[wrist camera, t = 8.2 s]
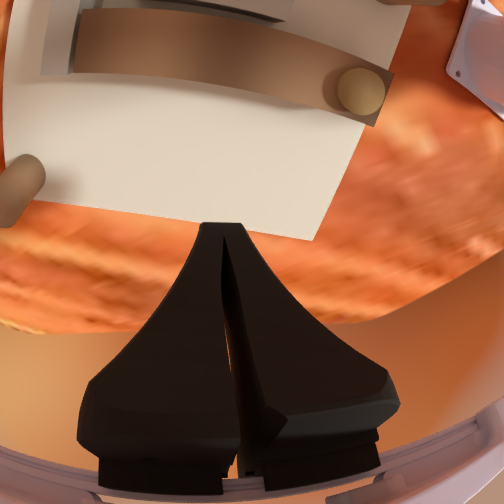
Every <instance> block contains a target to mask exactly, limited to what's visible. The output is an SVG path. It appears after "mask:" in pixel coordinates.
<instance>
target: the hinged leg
mask: <svg viewBox="0 0 504 504" xmlns="http://www.w3.org/2000/svg"><path fill="white" fill-rule="evenodd" d="M73 73H109V74H130V75H144V76H155V77H165V78H174V79H182V80H189V81H196V82H203V83H209V84H215V85H221V86H226V87H232V88H237V89H242V90H247V91H251V92H256V93H261V94H265V95H269V96H273V97H277V98H281V99H285V100H289V101H293V102H297V103H300V104H304V105H307V106H311V107H314V108H318V109H321V110H324V111H328V112H331V113H334V114H337V115H340V116H343V117H346V118H349V119H352V120H355V121H358V122H361V123H363V124H366V125H369V126H372V127H374V125H375V123H376V120H377V118H378V115H379V113H380V110H381V108H382V105H383V102H384V100H385V97H386V95H387V92H388V89H389V87H390V84H391V81H392V79H393V76H394V73H392V72H390V71H388V70H386V69H384V68H382V67H380V66H377V65H375V64H373V63H371V62H369V61H366V60H364V59H362V58H359V57H357V56H354V55H352V54H350V53H347V52H344V51H342V50H339V49H337V48H334V47H331V46H329V45H326V44H323V43H320V42H317V41H314V40H311V39H308V38H305V37H302V36H299V35H295V34H292V33H289V32H285V31H282V30H278V29H274V28H270V27H266V26H262V25H258V24H254V23H250V22H245V21H240V20H235V19H230V18H225V17H219V16H213V15H207V14H200V13H192V12H184V11H174V10H162V9H145V8H93V9H83V10H82V15H81V20H80V26H79V32H78V38H77V45H76V52H75V60H74V69H73Z"/></svg>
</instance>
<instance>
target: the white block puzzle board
mask: <svg viewBox="0 0 504 504" xmlns="http://www.w3.org/2000/svg"><path fill="white" fill-rule="evenodd" d="M446 1H447V0H14V3H13V8H12V13H11V18H10V24H9V30H8V37H7V44H6V53H5V63H4V77H3V141H4V155H5V166H6V169H5V170H4V171H2V172H1V173H0V227H1V228H9V227H11V226H13V225H14V224H15V222H16V221H17V220H18V218H19V217H20V215H21V214H22V213H23V211H24V210H25V209H26V207H27V206H28V205H29V203H30V202H31V201H32V200H39V201H47V202H55V203H63V204H71V205H78V206H86V207H94V208H101V209H108V210H116V211H123V212H130V213H137V214H144V215H151V216H158V217H165V218H172V219H179V220H185V221H192V222H199V223H203V222H232V223H241V224H242V225H243V226H244V228H245V229H246V230H250V231H256V232H262V233H268V234H274V235H280V236H286V237H292V238H298V239H304V240H310V241H312V240H313V238H314V236H315V234H316V232H317V230H318V228H319V226H320V224H321V222H322V220H323V218H324V215H325V213H326V211H327V209H328V207H329V205H330V203H331V201H332V198H333V196H334V194H335V192H336V190H337V188H338V186H339V183H340V181H341V179H342V177H343V175H344V172H345V170H346V168H347V166H348V164H349V161H350V159H351V157H352V155H353V152H354V150H355V148H356V145H357V143H358V141H359V139H360V136H361V134H362V132H363V129H364V127H365V125H366V124H363V123H361V122H358V121H355V120H352V119H349V118H346V117H343V116H340V115H337V114H334V113H331V112H328V111H324V110H321V109H318V108H314V107H311V106H307V105H304V104H300V103H297V102H293V101H289V100H285V99H281V98H277V97H273V96H269V95H265V94H261V93H256V92H251V91H247V90H242V89H237V88H232V87H226V86H221V85H215V84H209V83H203V82H196V81H189V80H182V79H174V78H165V77H155V76H144V75H130V74H109V73H73V69H74V60H75V52H76V45H77V38H78V32H79V26H80V20H81V15H82V10H83V9H93V8H145V9H162V10H174V11H184V12H192V13H200V14H207V15H213V16H219V17H225V18H230V19H235V20H240V21H245V22H250V23H254V24H258V25H262V26H266V27H270V28H274V29H278V30H282V31H285V32H289V33H292V34H295V35H299V36H302V37H305V38H308V39H311V40H314V41H317V42H320V43H323V44H326V45H329V46H331V47H334V48H337V49H339V50H342V51H344V52H347V53H350V54H352V55H354V56H357V57H359V58H362V59H364V60H366V61H369V62H371V63H373V64H375V65H377V66H380V67H382V68H384V69H386V70H388V69H389V66H390V63H391V61H392V58H393V56H394V53H395V50H396V48H397V45H398V43H399V40H400V37H401V34H402V32H403V29H404V26H405V24H406V21H407V18H408V15H409V12H410V9H411V7H412V5H415V6H440V5H442V4H444V3H445V2H446Z"/></svg>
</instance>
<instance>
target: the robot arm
mask: <svg viewBox="0 0 504 504" xmlns="http://www.w3.org/2000/svg"><path fill="white" fill-rule="evenodd" d="M481 1H482V3H481ZM446 72H447V74H448V75H449V76H450V77H452V78H453V79H454V80H456V81H457V82H458V83H460V84H461V85H462V86H464V87H465V88H466V89H468V90H469V91H470V92H471V93H473V94H474V95H475V96H476V97H478V98H479V99H480V100H481V101H482V102H484V103H485V104H486V105H487V106H488V107H489V108H491V109H492V110H493V111H494V112H495V113H496V114H497V115H498V116H499V117H501V118H502V119H503V120H504V17H503V15H502V14H501V13H500V12H499V11H498V10H497V9H496V8H495V7H494V6H493V5H492V4H491V3H490V2H489V1H488V0H469V2H468V5H467V9H466V12H465V15H464V18H463V21H462V24H461V27H460V30H459V33H458V36H457V39H456V42H455V45H454V48H453V50H452V53H451V56H450V58H449V61H448V64H447V66H446ZM456 72H458V73H457V76H456ZM224 324H225V326H224ZM225 330H226V335H225ZM226 337H227V342H228V348H229V356H230V364H229V357H228V350H227V342H226ZM230 366H231V371H230ZM399 406H400V401H399V398H398V395H397V392H396V389H395V386H394V384H393V381H392V380H391V377H390V375H389V373H388V371H387V370H386V369H385V368H383V367H381V366H380V365H378V364H377V363H375V362H373V361H372V360H370V359H368V358H367V357H365V356H364V355H362V354H361V353H359V352H357V351H356V350H354V349H353V348H352V347H350V346H349V345H347V344H346V343H345V342H343V341H342V340H341V339H339V338H338V337H337V336H336V335H334V334H333V333H332V332H331V331H330V330H328V329H327V328H326V327H325V326H324V325H323V324H321V323H320V322H319V321H318V320H317V319H316V318H314V317H313V316H312V315H311V314H310V313H309V312H308V311H307V310H306V309H305V308H304V307H303V306H302V305H301V304H300V303H299V302H298V301H297V300H296V299H295V298H294V297H293V295H292V294H291V293H290V292H289V291H288V290H287V289H286V287H285V286H284V285H283V284H282V283H281V281H280V280H279V279H278V278H277V276H276V275H275V274H274V273H273V271H272V270H271V269H270V267H269V266H268V264H267V263H266V262H265V260H264V259H263V257H262V256H261V254H260V253H259V251H258V250H257V248H256V247H255V245H254V243H253V242H252V240H251V238H250V237H249V235H248V233H247V231H246V229H245V228H244V226H243V225H242V224H241V223H232V222H203V223H201V224H200V227H199V231H198V235H197V238H196V240H195V243H194V245H193V248H192V250H191V252H190V254H189V256H188V258H187V260H186V262H185V264H184V266H183V268H182V270H181V271H180V273H179V275H178V277H177V278H176V280H175V282H174V284H173V285H172V287H171V288H170V290H169V292H168V293H167V295H166V296H165V298H164V299H163V301H162V302H161V303H160V305H159V306H158V308H157V309H156V310H155V312H154V313H153V314H152V315H151V317H150V318H149V319H148V321H147V322H146V323H145V324H144V326H143V327H142V328H141V329H140V331H139V332H138V333H137V334H136V335H135V336H134V337H133V338H132V339H131V341H130V342H129V343H128V344H127V345H126V346H125V347H124V348H123V349H122V350H121V352H120V353H119V354H118V355H117V356H116V357H115V358H114V359H113V360H112V361H111V362H110V363H109V364H107V365H106V366H105V367H104V368H103V369H102V370H101V371H100V372H99V373H98V374H97V375H96V376H95V377H94V378H93V379H92V380H90V381H89V383H88V385H87V388H86V391H85V394H84V397H83V400H82V404H81V407H80V411H79V419H78V428H77V441H78V442H79V444H80V445H81V446H83V447H84V448H85V449H87V450H88V451H90V452H91V453H92V454H94V455H95V456H97V457H98V458H99V470H98V472H96V471H91V470H86V469H81V468H76V467H71V466H67V465H63V464H58V463H54V462H50V461H47V460H43V459H39V458H36V457H33V456H29V455H26V454H23V453H19V452H17V451H14V450H10V449H8V448H5V447H2V446H0V504H111V503H106V502H103V501H102V500H101V498H100V497H99V496H98V495H97V494H100V495H107V496H112V497H119V498H127V499H135V500H144V501H145V500H146V501H156V502H157V501H158V502H175V503H224V502H242V501H253V500H263V499H272V498H279V497H286V496H292V495H298V494H304V493H309V492H314V491H319V490H324V489H328V488H333V487H337V486H341V485H345V484H348V483H352V482H356V481H359V480H363V479H366V478H370V477H373V476H376V475H377V476H376V477H375V478H374V481H373V483H372V484H369V485H366V486H363V487H359V488H356V489H353V490H349V491H347V492H343V493H340V494H336V495H333V496H329V497H326V499H325V501H326V504H464V503H466V502H467V501H468V500H469V499H470V498H472V497H473V496H474V495H475V494H476V493H478V492H479V491H480V490H481V489H482V488H483V487H485V486H486V485H487V484H488V483H489V482H490V481H491V480H492V479H493V478H494V477H495V476H496V475H497V474H498V473H500V472H501V471H502V470H503V469H504V396H503V397H501V398H500V399H498V400H496V401H494V402H492V403H491V404H489V405H488V406H486V407H485V408H483V409H482V410H480V411H479V412H478V413H476V415H474V416H473V417H470V418H468V419H466V420H464V421H462V422H460V423H458V424H456V425H454V426H452V427H449V428H447V429H444V430H442V431H440V432H437V433H435V434H433V435H430V436H428V437H425V438H422V439H420V440H417V441H415V442H412V443H409V444H406V445H403V446H400V447H397V448H394V449H391V450H388V451H385V452H382V453H378V451H377V448H376V444H375V442H376V441H378V440H379V435H378V432H377V427H378V426H380V425H381V424H382V423H384V422H385V421H386V420H388V419H389V418H390V417H391V416H393V415H394V414H395V413H396V412H397V410H398V408H399ZM236 454H237V468H238V479H222V478H228V470H229V467H230V465H233V462H234V459H235V456H236ZM94 493H95V494H94Z"/></svg>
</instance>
